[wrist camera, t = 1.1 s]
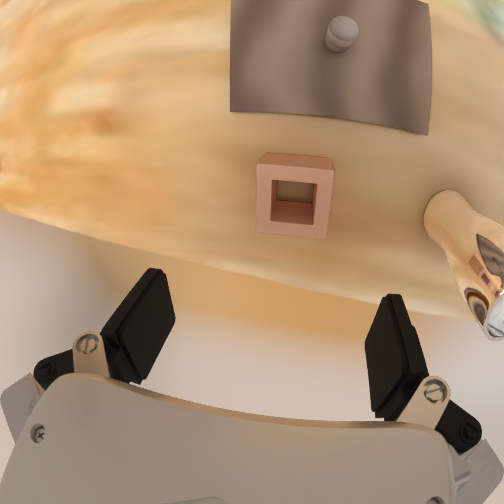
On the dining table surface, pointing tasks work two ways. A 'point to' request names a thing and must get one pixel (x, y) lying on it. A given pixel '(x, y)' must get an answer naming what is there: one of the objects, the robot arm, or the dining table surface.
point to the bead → (293, 213)
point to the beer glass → (471, 256)
